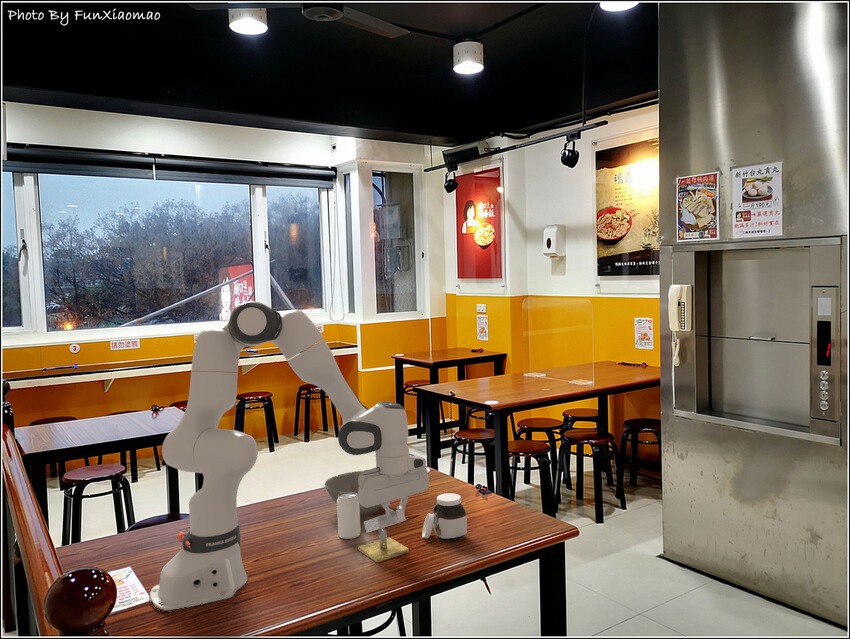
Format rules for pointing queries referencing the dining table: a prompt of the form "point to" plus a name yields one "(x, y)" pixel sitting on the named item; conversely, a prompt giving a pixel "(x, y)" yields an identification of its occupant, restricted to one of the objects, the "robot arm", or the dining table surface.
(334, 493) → the ceramic bowl
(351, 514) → the can
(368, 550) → the post
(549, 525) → the dining table surface
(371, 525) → the grey square frame handle
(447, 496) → the spread jar
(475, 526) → the dining table surface
